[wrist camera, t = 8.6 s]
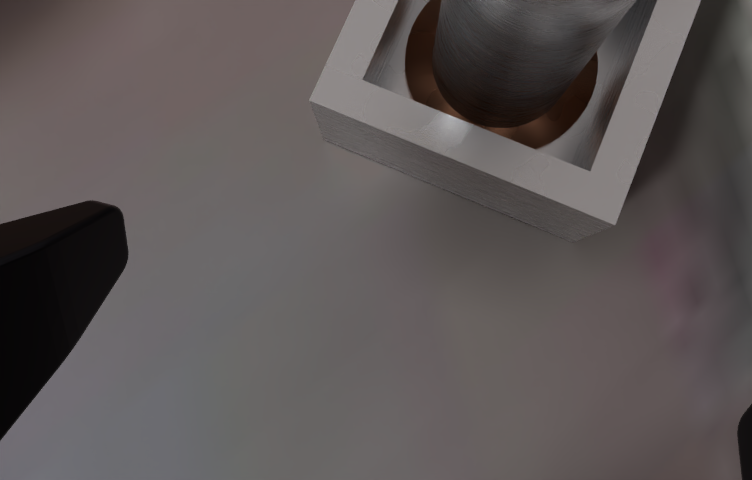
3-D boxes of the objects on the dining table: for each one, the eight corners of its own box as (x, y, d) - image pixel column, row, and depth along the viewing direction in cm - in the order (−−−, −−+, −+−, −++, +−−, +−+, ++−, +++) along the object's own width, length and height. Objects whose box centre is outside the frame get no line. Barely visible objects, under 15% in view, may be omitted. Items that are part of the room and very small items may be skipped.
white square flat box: (572, 242, 17) (615, 225, 13) (323, 139, 17) (309, 100, 14) (665, 6, 17) (723, -60, 14) (425, -84, 18) (432, -167, 15)
